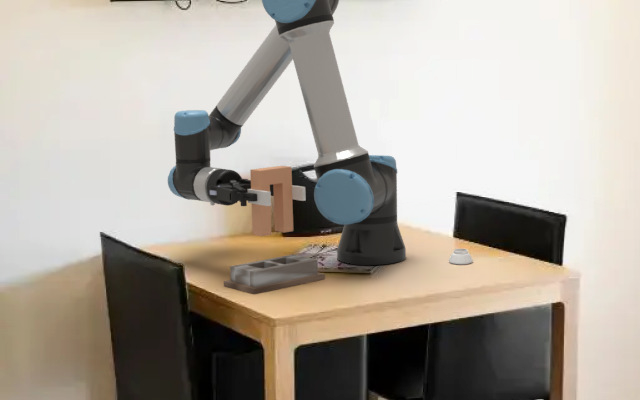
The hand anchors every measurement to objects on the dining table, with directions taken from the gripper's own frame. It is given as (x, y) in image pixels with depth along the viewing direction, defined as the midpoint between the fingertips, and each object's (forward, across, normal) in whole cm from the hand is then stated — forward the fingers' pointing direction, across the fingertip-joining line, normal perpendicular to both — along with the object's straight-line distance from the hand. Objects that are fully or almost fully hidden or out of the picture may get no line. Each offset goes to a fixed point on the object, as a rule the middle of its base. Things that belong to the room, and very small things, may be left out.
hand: (286, 196), depth 208 cm
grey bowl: (+10, -40, -18) cm, 45 cm away
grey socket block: (-5, 0, -18) cm, 19 cm away
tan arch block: (-5, 0, -8) cm, 9 cm away
